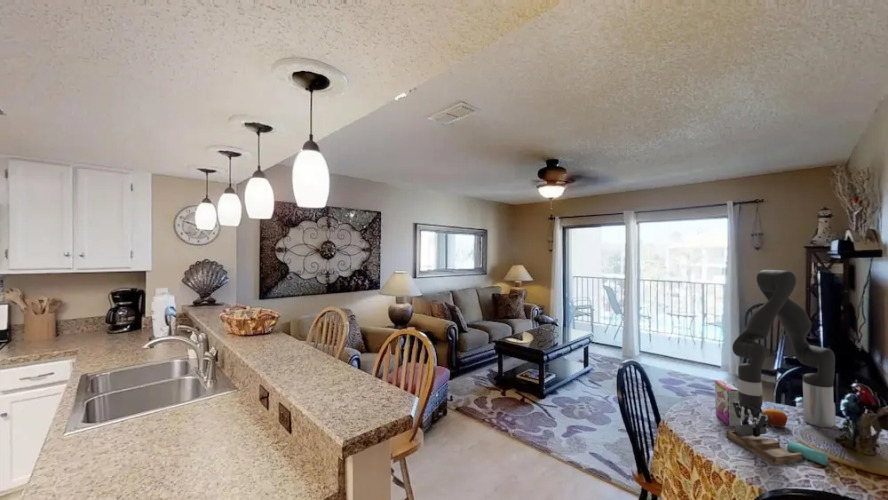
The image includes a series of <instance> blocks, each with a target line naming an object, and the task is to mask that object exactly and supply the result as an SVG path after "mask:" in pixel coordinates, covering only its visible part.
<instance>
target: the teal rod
mask: <svg viewBox="0 0 888 500" xmlns="http://www.w3.org/2000/svg"><path fill="white" fill-rule="evenodd" d="M786 450H788V451H790V452H792V453H799V452H800V453H801V454H802V458H804V459H806V460H809V461H812V462H815V463H817V464H820V465H822V466H826V465H827V464H828V462H829V456H828V454H827V453H826V452H825V453H824V452H822V451H819V450H816V449H813V448H811V447H808V446H805V445H803V444H799V443H796V442H794V441H791V440H789V441H788V443H787V445H786Z"/></svg>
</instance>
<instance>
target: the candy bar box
mask: <svg viewBox="0 0 888 500" xmlns="http://www.w3.org/2000/svg"><path fill="white" fill-rule="evenodd" d="M714 389H715V391H714V393H715V416H716V417H718V418H719V419H720V420H721V421H722V422H724V423H725V424H726V425H727V426H728V427H729V428H735V427H736V426H738V425H742V421H741V419H740V418H738V417H737V416H736V413H735V409H734V406H733V402H740V401H739V400H738V387H736V386H734V385H733V384H732V383H730V382H729V381H727V380H721V379H720V380H718V379H717V380H716V379H715V380H714ZM739 414H740V411H739Z"/></svg>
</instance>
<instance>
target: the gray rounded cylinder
mask: <svg viewBox="0 0 888 500" xmlns="http://www.w3.org/2000/svg"><path fill="white" fill-rule="evenodd" d="M756 424H757V422H756ZM734 428H735V429H734V430H735V431H736V433H737V434H738V435H739V436H741V437H744V436H752V435H753V423H749V424H747V425H742V424H741V425H738V426H736V427H734ZM767 430H768V429H767V427H766V428H760V436H761V435H766V434H767V432H768V431H767Z"/></svg>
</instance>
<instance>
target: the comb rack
mask: <svg viewBox="0 0 888 500" xmlns="http://www.w3.org/2000/svg"><path fill="white" fill-rule="evenodd" d="M726 438H728V439H729V440H731V441H733V442H734V443H736V444H737V445H739V446H741V447H743V448H744V449H746V450H748V451H749V452H751V453H753V454H755V455H756V456H758V457H760V458H761V459H763V460H764V461H767V462H768V463H770V464H771V465H779V464H780V465H781V464H787V463H796V462H803V457H802V454H801V453H800V452H799V453H792V452H790V451H788V450H787V448H784V447H783V446H781V442H780V441H778V440H776V439H774V438H773V437H772V438H765V437H763V436H761V435H760V436H759V437H754V436H753V435H752V436H744V437H741V436H739V435H738V434H737V433H736V431H735V429H734V430H727V431H726Z"/></svg>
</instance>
